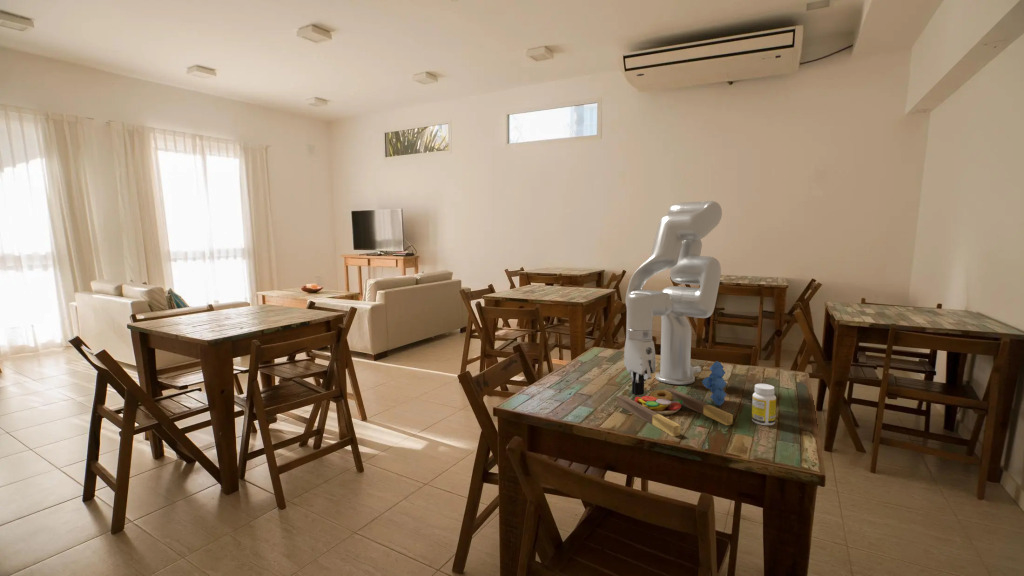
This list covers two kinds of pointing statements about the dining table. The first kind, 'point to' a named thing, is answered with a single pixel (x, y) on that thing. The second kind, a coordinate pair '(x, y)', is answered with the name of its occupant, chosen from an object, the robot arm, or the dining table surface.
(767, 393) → the supplement bottle
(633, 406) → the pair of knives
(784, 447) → the dining table surface
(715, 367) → the grapes
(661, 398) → the toy food set
